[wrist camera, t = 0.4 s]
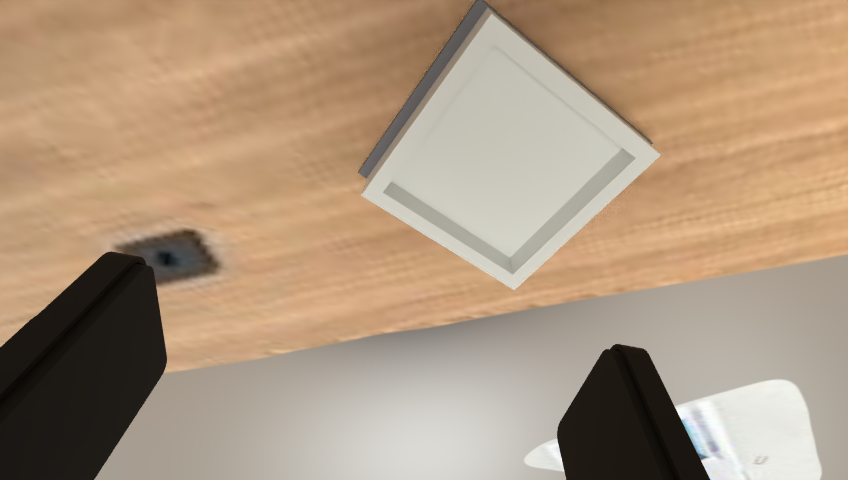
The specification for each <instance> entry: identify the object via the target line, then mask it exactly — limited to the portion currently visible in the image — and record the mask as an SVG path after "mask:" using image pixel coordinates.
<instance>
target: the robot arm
mask: <svg viewBox="0 0 848 480" xmlns="http://www.w3.org/2000/svg"><path fill="white" fill-rule="evenodd" d="M166 363H167V355H166V348H165V342H164V335H163V329H162V322H161V316H160V309H159V303H158V296H157V290H156V283H155V277H154V271H153V268H152V267H150V266H146V262H145V260H144V259H143V258H142V257H138V256H133V255H127V254H122V253H116V252H107V253H105V254H104V255H102V256H101V257H100V258H99V259H98V260H97V261H96V262H95V263H94V264H93V265H91V266H90V267H89V268H88V269H87V270H86V271H85V272H84V273H83V274H82V275H81V276H79V277H78V278H77V279H76V280H75V281H74V282H73V283H72V284H71V285H70V286H69V287H67V288H66V289H65V290H64V291H63V292H62V293H61V294H60V295H59V296H58V297H57V298H56V299H54V300H53V301H52V302H51V303H50V304H49V305H48V306H47V307H46V308H45V309H44V310H42V311H41V312H40V313H39V314H38V315H37V316H35V317H34V318H33V319H31V320H30V321H29V322H28V323H27V324H25V325H24V326H23V327H22V328H21V329H20V330H19V331H18V332H17V333H16V334H15V335H13V336H12V337H11V338H10V339H9V340H8V341H7V342H6V343H5V344H4V345H3V346H1V347H0V480H94V479H95V477H96V476H97V474H98V473H99V471H100V470H101V468H102V466H103V465H104V464H105V462H106V461H107V459H108V457H109V456H110V454H111V453H112V451H113V449H114V448H115V446H116V445H117V444H118V442H119V441H120V439H121V438H122V436H123V434H124V433H125V431H126V430H127V428H128V427H129V425H130V424H131V422H132V421H133V419H134V418H135V416H136V415H137V413H138V411H139V410H140V408H141V407H142V405H143V404H144V402H145V401H146V399H147V398H148V396H149V394H150V393H151V391H152V390H153V388H154V387H155V385H156V384H157V382H158V381H159V379H160V378H161V376H162V374H163V372H164V370H165V367H166ZM557 438H558V444H559V448H560V453H561V457H562V462H563V466H564V471H565V475H566V480H710V478H709V476H708V474H707V472H706V470H705V468H704V466H703V464H702V462H701V460H700V458H699V456H698V454H697V452H696V450H695V448H694V446H693V443H692V441H691V439H690V437H689V435H688V433H687V431H686V429H685V427H684V425H683V423H682V421H681V419H680V417H679V415H678V413H677V411H676V409H675V407H674V405H673V403H672V401H671V399H670V396H669V394H668V392H667V391H666V388H665V386H664V384H663V382H662V380H661V378H660V376H659V374H658V372H657V370H656V368H655V366H654V364H653V362H652V360H651V358H650V356H649V354H648V353H647V351H646V350H644V349H642V348H636V347H631V346H626V345H620V344H615V345H613V346H612V348H611V349H610V350H609V349H606V350H604V351H603V352H602V354H601V355H600V357H599V359H598V360H597V362H596V364H595V365H594V367H593V369H592V370H591V372H590V374H589V375H588V377H587V379H586V380H585V382H584V384H583V385H582V387H581V388H580V390H579V392H578V393H577V395H576V397H575V398H574V400H573V402H572V403H571V405H570V406H569V408H568V410H567V412H566V413H565V415H564V416H563V418H562V420H561V421H560V423H559V426H558V431H557Z"/></svg>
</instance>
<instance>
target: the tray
mask: <svg viewBox="0 0 848 480" xmlns="http://www.w3.org/2000/svg"><path fill="white" fill-rule="evenodd" d="M659 156H661V154H660V153H659V152H658V151H657V150H656V149H655V148H654V147H653V146H652V145H651V144H650V143H649V142H648V141H647V140H646V139H645V138H644V137H643V136H641V135H640V134H639V133H638V132H637V131H635V130H634V129H633V128H632V127H631V126H629V125H628V124H627V123H626V122H625V121H623V120H622V119H621V118H620V117H619V116H617V115H616V114H615V113H614V112H613V111H612V110H610V109H609V108H608V107H607V106H606V105H604V104H603V103H602V102H601V101H600V100H598V99H597V98H596V97H595V96H594V95H592V94H591V93H590V92H589V91H588V90H586V89H585V88H584V87H583V86H582V85H580V84H579V83H578V82H577V81H576V80H574V79H573V78H572V77H571V76H570V75H568V74H567V73H566V72H565V71H564V70H562V69H561V68H560V67H559V66H558V65H556V64H555V63H554V62H553V61H552V60H550V59H549V58H548V57H547V56H546V55H544V54H543V53H542V52H541V51H540V50H539V49H537V48H536V47H535V46H534V45H533V44H531V43H530V42H529V41H528V40H527V39H525V38H524V37H523V36H522V35H521V34H519V33H518V32H517V31H516V30H515V29H513V28H512V27H511V26H510V25H509V24H507V23H506V22H505V21H504V20H503V19H501V18H500V17H499V16H498V15H497V14H495V13H494V12H493V11H492V10H491V9H489V8H488V7H487V9H486V10H485V11H484V13H483V14H482V16H481V17H480V18H479V20H478V21H477V23H476V24H475V26H474V27H473V28H472V30H471V31H470V33H469V34H468V35H467V37H466V38H465V40H464V41H463V43H462V44H461V45H460V47H459V48H458V50H457V51H456V52H455V54H454V55H453V57H452V58H451V59H450V61H449V62H448V64H447V65H446V67H445V68H444V69H443V71H442V72H441V74H440V75H439V76H438V78H437V79H436V81H435V82H434V83H433V85H432V86H431V88H430V89H429V91H428V92H427V93H426V95H425V96H424V98H423V99H422V100H421V102H420V103H419V105H418V106H417V108H416V109H415V110H414V112H413V113H412V115H411V116H410V117H409V119H408V120H407V122H406V123H405V124H404V126H403V127H402V129H401V130H400V132H399V133H398V134H397V136H396V137H395V139H394V140H393V141H392V143H391V144H390V146H389V147H388V148H387V150H386V151H385V153H384V154H383V156H382V157H381V158H380V160H379V161H378V163H377V164H376V165H375V167H374V168H373V170H372V171H371V172H370V174H369V175H368V177H367V179H366V182H365V185H364V188H363V191H362V194H361V196H363V197H364V198H366V199H368V200H369V201H371V202H372V203H374V204H376V205H377V206H379V207H381V208H382V209H384V210H385V211H387V212H389V213H390V214H392V215H393V216H395V217H397V218H398V219H400V220H402V221H403V222H405V223H406V224H408V225H410V226H411V227H413V228H415V229H416V230H418V231H419V232H421V233H423V234H424V235H426V236H427V237H429V238H431V239H432V240H434V241H436V242H437V243H439V244H440V245H442V246H444V247H445V248H447V249H448V250H450V251H452V252H453V253H455V254H457V255H458V256H460V257H461V258H463V259H465V260H466V261H468V262H470V263H471V264H473V265H474V266H476V267H478V268H479V269H481V270H482V271H484V272H486V273H487V274H489V275H491V276H492V277H494V278H495V279H497V280H499V281H500V282H502V283H504V284H505V285H507V286H508V287H510V288H512V289H513V290H515V289H516V288H517V287H518V286H519V285H520V284H521V283H523V282H524V281H525V280H526V279H527V278H528V277H529V276H530V275H531V274H532V273H533V272H535V271H536V270H537V269H538V268H539V267H540V266H541V265H542V264H543V263H544V262H545V261H546V260H548V259H549V258H550V257H551V256H552V255H553V254H554V253H555V252H556V251H557V250H558V249H559V248H561V247H562V246H563V245H564V244H565V243H566V242H567V241H568V240H569V239H570V238H571V237H573V236H574V235H575V234H576V233H577V232H578V231H579V230H580V229H581V228H582V227H583V226H584V225H586V224H587V223H588V222H589V221H590V220H591V219H592V218H593V217H594V216H595V215H596V214H598V213H599V212H600V211H601V210H602V209H603V208H604V207H605V206H606V205H607V204H608V203H609V202H611V201H612V200H613V199H614V198H615V197H616V196H617V195H618V194H619V193H620V192H621V191H622V190H624V189H625V188H626V187H627V186H628V185H629V184H630V183H631V182H632V181H633V180H634V179H636V178H637V177H638V176H639V175H640V174H641V173H642V172H643V171H644V170H645V169H646V168H647V167H649V166H650V165H651V164H652V163H653V162H654V161H655V160H656V159H657V158H658V157H659Z"/></svg>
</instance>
